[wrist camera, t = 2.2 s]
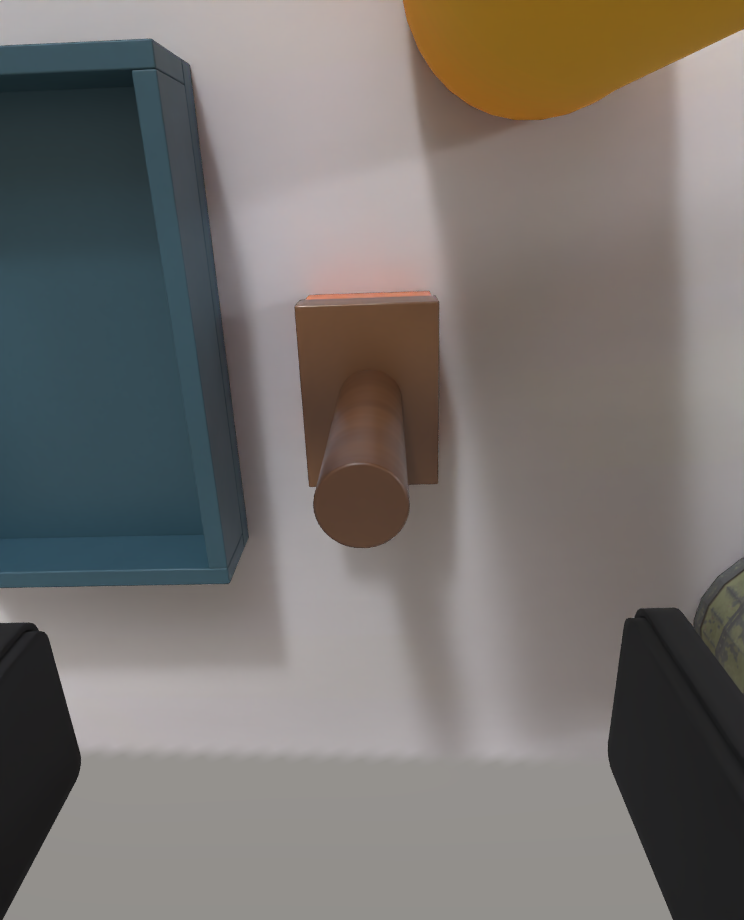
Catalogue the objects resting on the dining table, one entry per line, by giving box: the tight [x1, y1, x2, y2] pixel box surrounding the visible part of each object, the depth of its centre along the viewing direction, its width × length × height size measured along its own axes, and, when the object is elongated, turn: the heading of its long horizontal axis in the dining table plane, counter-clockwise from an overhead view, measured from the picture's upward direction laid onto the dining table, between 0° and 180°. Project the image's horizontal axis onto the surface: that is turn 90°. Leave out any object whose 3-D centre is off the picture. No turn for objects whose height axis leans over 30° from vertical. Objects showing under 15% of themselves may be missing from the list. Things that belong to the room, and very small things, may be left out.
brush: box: [295, 291, 439, 548], centre depth 21 cm, size 7×5×12 cm
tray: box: [0, 39, 249, 588], centre depth 25 cm, size 20×14×4 cm
